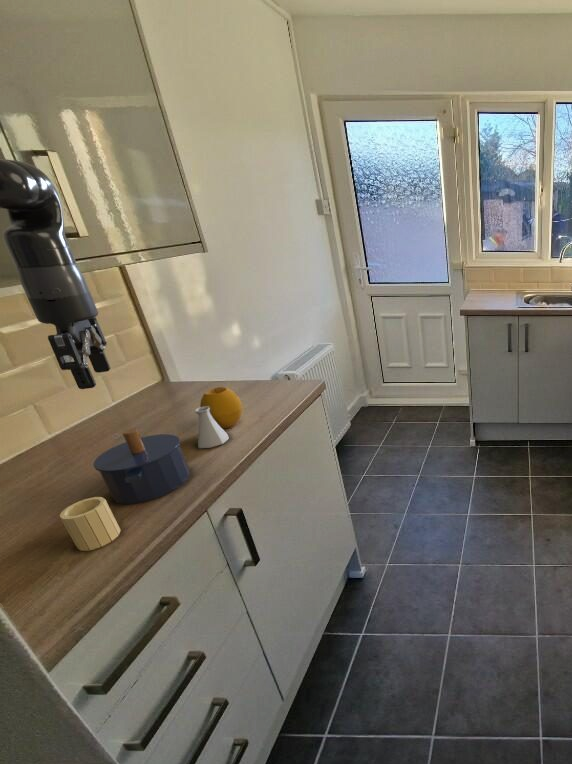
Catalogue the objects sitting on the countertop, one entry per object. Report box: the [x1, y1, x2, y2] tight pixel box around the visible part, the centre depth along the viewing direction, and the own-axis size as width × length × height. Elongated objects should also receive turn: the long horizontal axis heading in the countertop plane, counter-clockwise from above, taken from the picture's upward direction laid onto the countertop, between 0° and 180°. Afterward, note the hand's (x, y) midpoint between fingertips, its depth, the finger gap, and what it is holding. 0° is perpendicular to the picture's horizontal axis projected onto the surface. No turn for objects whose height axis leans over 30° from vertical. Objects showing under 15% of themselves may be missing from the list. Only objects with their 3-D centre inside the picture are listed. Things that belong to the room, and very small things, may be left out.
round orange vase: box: [199, 386, 243, 429], centre depth 118 cm, size 10×10×12 cm
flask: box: [194, 406, 230, 449], centre depth 109 cm, size 7×7×10 cm
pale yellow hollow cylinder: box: [59, 496, 121, 552], centre depth 77 cm, size 6×6×8 cm
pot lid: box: [93, 428, 181, 473], centre depth 90 cm, size 15×15×6 cm
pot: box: [99, 444, 190, 505], centre depth 93 cm, size 14×19×8 cm
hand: (96, 379), depth 77 cm, fingers open, 8 cm apart
